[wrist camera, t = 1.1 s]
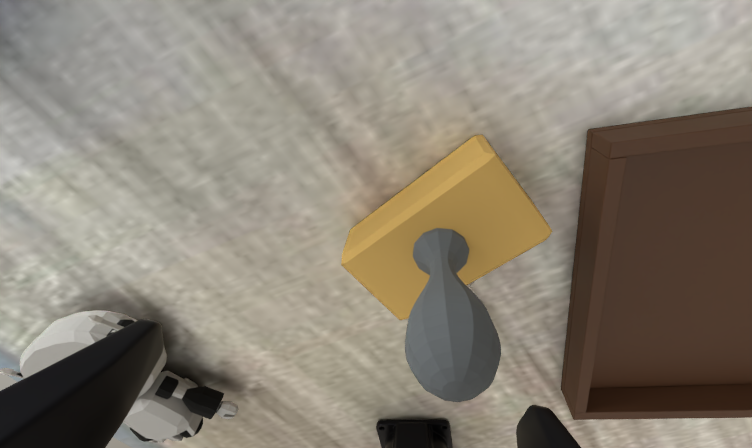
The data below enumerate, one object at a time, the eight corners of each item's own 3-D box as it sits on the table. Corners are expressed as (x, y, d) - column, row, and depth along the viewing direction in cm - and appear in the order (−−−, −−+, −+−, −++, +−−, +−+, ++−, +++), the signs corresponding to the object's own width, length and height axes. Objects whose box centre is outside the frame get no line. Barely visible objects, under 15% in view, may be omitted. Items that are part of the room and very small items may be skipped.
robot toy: (258, 382, 33) (121, 272, 26) (240, 433, 29) (74, 319, 22) (171, 415, 37) (34, 327, 30) (145, 464, 33) (-19, 375, 26)
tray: (792, 382, 25) (829, 416, 23) (560, 388, 28) (573, 420, 26) (960, 77, 16) (1051, 85, 14) (587, 129, 19) (611, 142, 16)
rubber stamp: (404, 286, 25) (396, 476, 14) (347, 229, 23) (290, 398, 12) (535, 205, 21) (657, 382, 10) (478, 129, 19) (556, 250, 9)
